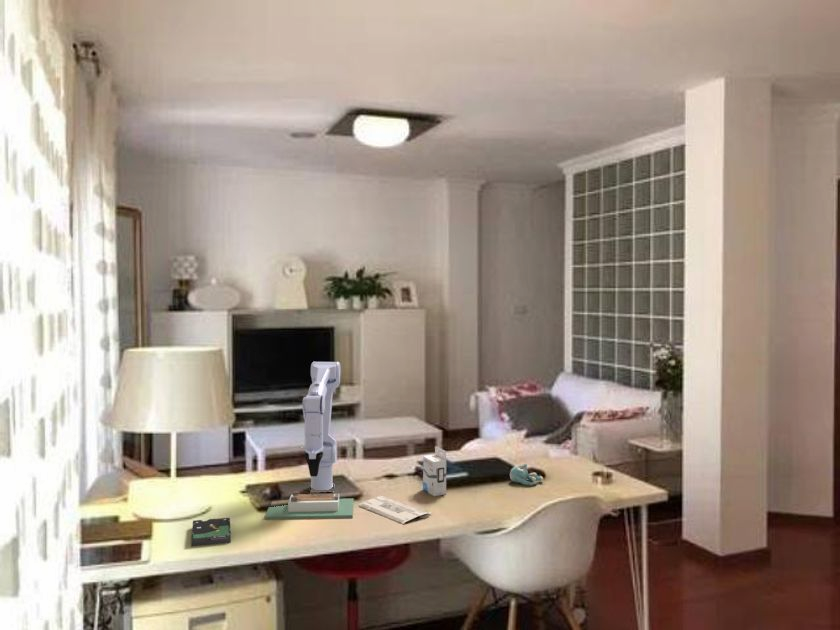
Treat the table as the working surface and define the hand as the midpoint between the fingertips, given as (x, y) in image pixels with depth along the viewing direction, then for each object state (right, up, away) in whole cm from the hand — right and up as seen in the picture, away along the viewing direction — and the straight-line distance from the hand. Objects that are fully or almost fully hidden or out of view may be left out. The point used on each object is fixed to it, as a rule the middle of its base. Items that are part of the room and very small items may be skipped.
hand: (313, 475), depth 217 cm
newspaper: (+26, -11, -4) cm, 28 cm away
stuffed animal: (+71, -9, +27) cm, 77 cm away
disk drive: (-24, -11, -26) cm, 37 cm away
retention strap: (+1, -6, -4) cm, 7 cm away
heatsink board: (0, -10, -4) cm, 10 cm away
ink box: (+38, -9, +15) cm, 42 cm away
